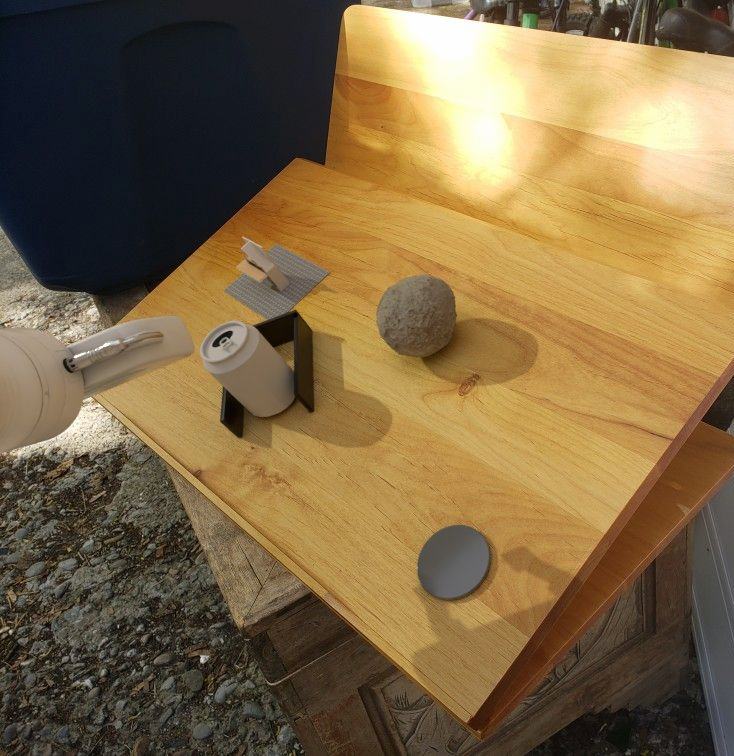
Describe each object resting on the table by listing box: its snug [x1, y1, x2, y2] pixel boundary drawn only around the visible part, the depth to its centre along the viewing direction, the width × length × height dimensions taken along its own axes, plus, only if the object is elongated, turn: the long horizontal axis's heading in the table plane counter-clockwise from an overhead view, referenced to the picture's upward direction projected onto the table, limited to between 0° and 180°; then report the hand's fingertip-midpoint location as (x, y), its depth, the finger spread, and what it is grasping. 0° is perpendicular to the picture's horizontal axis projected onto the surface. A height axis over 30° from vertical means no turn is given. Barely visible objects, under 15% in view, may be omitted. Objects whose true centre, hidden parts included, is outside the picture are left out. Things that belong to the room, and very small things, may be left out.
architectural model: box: [223, 236, 331, 320], centre depth 101 cm, size 3×7×7 cm, turn 49°
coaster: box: [416, 524, 492, 601], centre depth 68 cm, size 8×8×1 cm
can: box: [199, 320, 296, 418], centre depth 84 cm, size 8×8×12 cm
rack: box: [219, 309, 315, 439], centre depth 89 cm, size 15×11×4 cm
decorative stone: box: [375, 274, 458, 358], centre depth 83 cm, size 10×8×10 cm
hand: (121, 370), depth 64 cm, fingers open, 8 cm apart
